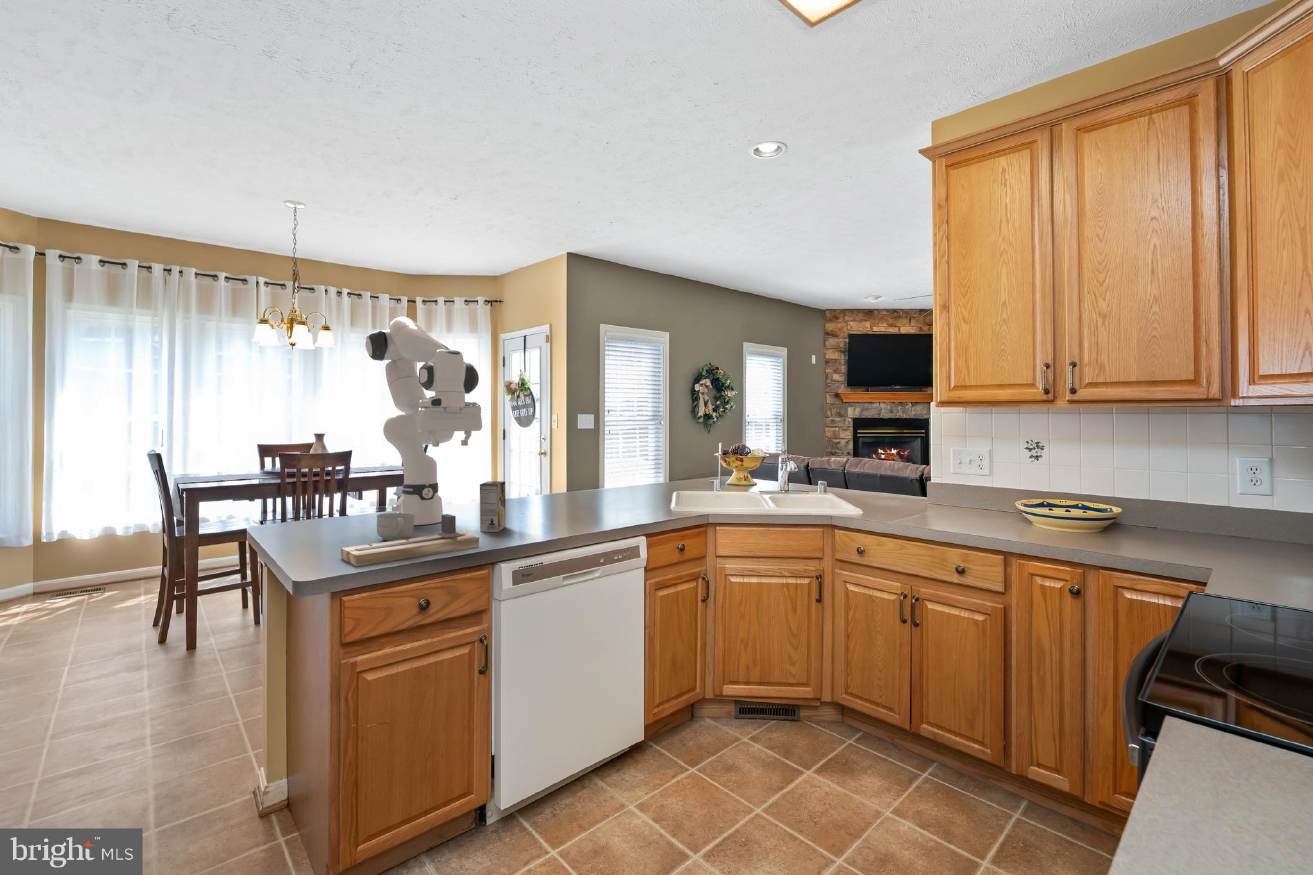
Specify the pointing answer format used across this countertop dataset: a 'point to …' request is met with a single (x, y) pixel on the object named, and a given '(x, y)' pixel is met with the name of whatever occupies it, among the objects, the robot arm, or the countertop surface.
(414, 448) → the robot arm
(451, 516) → the fader tab
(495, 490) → the coffee box
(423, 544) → the board
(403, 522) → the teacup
